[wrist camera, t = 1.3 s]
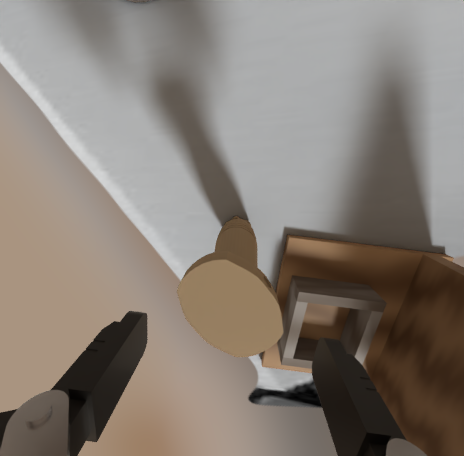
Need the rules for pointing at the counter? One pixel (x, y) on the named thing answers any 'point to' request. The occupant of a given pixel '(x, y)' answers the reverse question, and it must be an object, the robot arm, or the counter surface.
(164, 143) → the counter surface
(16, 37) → the counter surface
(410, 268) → the board
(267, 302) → the handle
